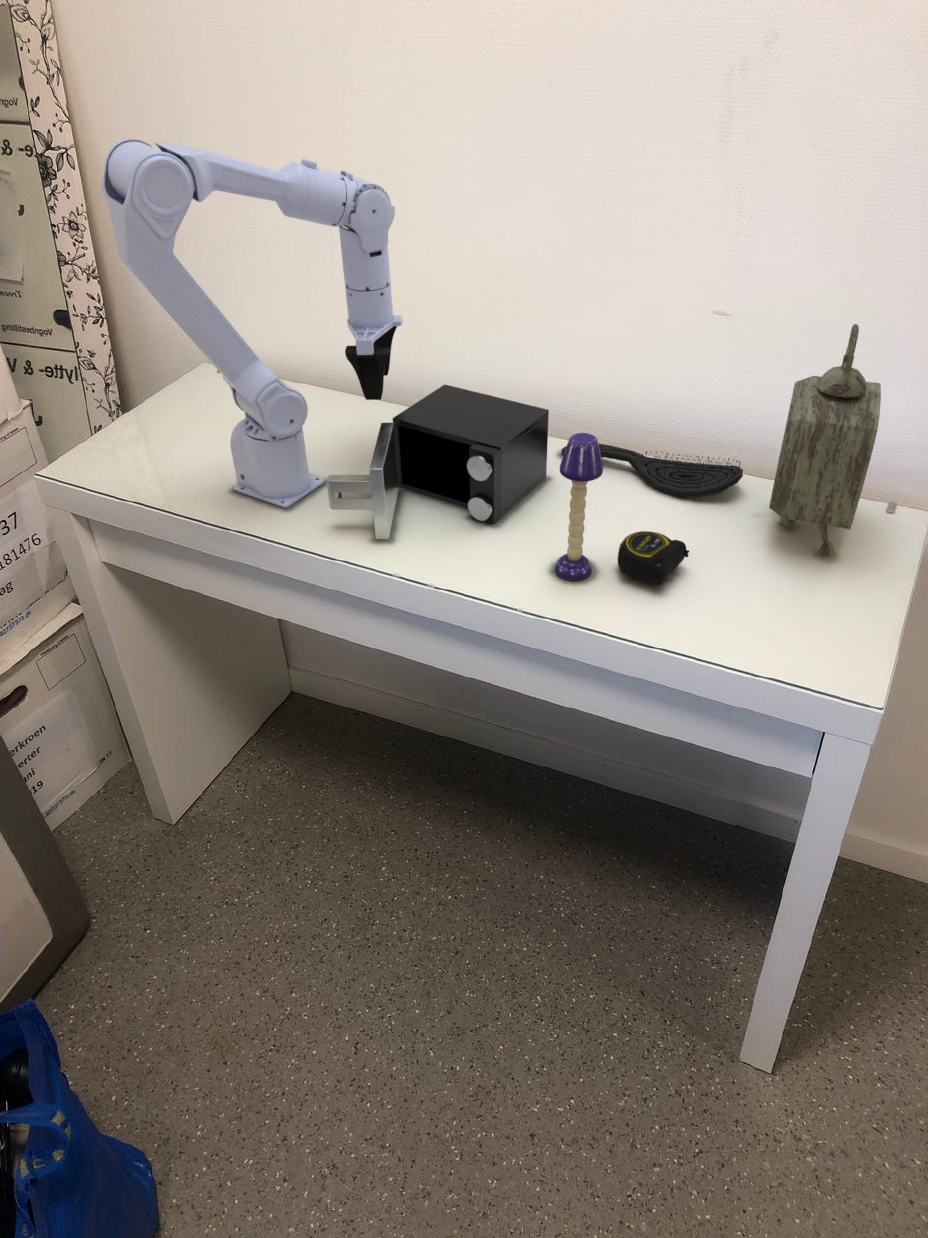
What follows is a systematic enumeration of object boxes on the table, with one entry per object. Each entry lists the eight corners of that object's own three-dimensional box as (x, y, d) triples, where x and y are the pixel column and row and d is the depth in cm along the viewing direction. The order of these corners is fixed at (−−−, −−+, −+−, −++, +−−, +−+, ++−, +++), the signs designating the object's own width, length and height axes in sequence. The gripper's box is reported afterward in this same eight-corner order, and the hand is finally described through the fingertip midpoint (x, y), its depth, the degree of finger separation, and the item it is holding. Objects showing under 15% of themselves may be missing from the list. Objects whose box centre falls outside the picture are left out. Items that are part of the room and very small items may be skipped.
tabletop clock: (840, 567, 105) (898, 357, 90) (759, 553, 108) (802, 347, 93) (845, 505, 116) (898, 308, 101) (771, 494, 119) (811, 300, 103)
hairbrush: (575, 422, 130) (752, 453, 119) (575, 446, 132) (748, 478, 121) (549, 447, 124) (732, 481, 113) (550, 471, 126) (729, 507, 116)
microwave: (490, 528, 114) (490, 455, 108) (386, 495, 121) (380, 425, 115) (546, 478, 123) (548, 409, 117) (447, 450, 130) (444, 383, 124)
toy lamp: (553, 557, 108) (559, 428, 98) (593, 557, 108) (603, 427, 98) (555, 581, 105) (562, 449, 94) (596, 581, 104) (607, 448, 94)
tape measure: (659, 596, 102) (663, 569, 100) (605, 575, 105) (607, 548, 103) (687, 567, 106) (691, 540, 104) (634, 548, 109) (637, 521, 107)
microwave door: (328, 539, 112) (319, 468, 106) (343, 489, 122) (335, 422, 116) (388, 539, 112) (382, 469, 106) (398, 489, 122) (393, 422, 116)
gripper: (393, 303, 109) (401, 409, 117) (405, 264, 120) (411, 364, 128) (334, 304, 109) (346, 410, 117) (351, 265, 120) (361, 364, 129)
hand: (377, 386), depth 123 cm, fingers open, 7 cm apart
